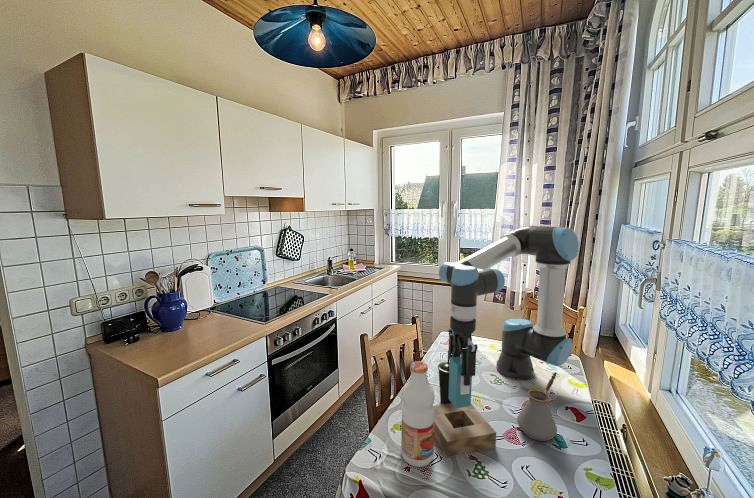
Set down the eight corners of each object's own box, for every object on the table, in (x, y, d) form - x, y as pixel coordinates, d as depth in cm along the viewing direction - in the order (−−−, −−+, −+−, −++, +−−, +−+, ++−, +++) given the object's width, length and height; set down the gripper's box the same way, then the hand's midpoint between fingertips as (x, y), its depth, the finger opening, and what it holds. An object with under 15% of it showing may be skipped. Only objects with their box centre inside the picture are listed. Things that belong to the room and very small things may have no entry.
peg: (462, 396, 101) (464, 355, 99) (470, 406, 96) (472, 363, 94) (448, 398, 100) (449, 357, 98) (455, 408, 95) (457, 365, 93)
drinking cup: (458, 409, 111) (460, 356, 108) (436, 406, 113) (438, 354, 110) (457, 396, 119) (459, 347, 116) (436, 394, 120) (438, 345, 117)
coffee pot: (548, 451, 92) (552, 405, 90) (510, 431, 100) (513, 388, 98) (571, 419, 106) (575, 378, 104) (536, 403, 114) (539, 365, 112)
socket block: (467, 413, 109) (468, 400, 108) (495, 447, 93) (496, 432, 93) (425, 420, 105) (425, 407, 104) (446, 457, 90) (447, 441, 89)
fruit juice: (406, 439, 97) (407, 354, 93) (436, 447, 93) (438, 360, 90) (396, 462, 88) (397, 370, 84) (429, 472, 85) (432, 376, 81)
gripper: (438, 308, 102) (436, 374, 105) (467, 329, 84) (463, 408, 88) (459, 306, 104) (456, 372, 107) (491, 327, 86) (487, 404, 89)
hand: (459, 388), depth 97 cm, fingers closed on peg, 5 cm apart
